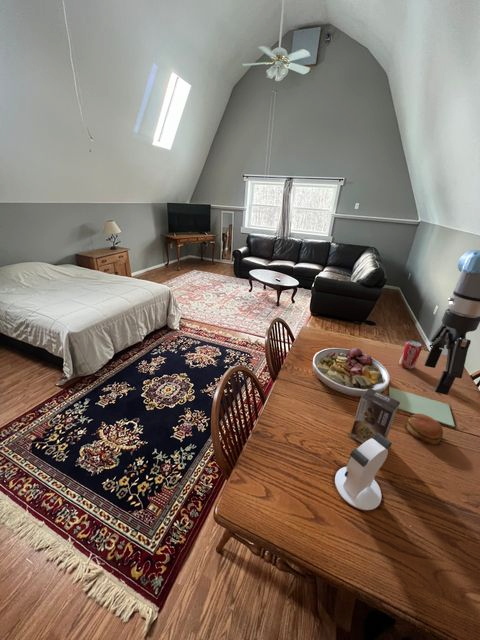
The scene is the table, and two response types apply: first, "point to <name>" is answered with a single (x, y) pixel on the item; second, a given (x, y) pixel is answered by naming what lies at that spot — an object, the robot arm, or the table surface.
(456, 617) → the table surface
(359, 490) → the white oval-base stand
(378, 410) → the coffee box
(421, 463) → the table surface
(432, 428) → the burger
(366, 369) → the bowl
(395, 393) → the mat
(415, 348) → the beverage can
